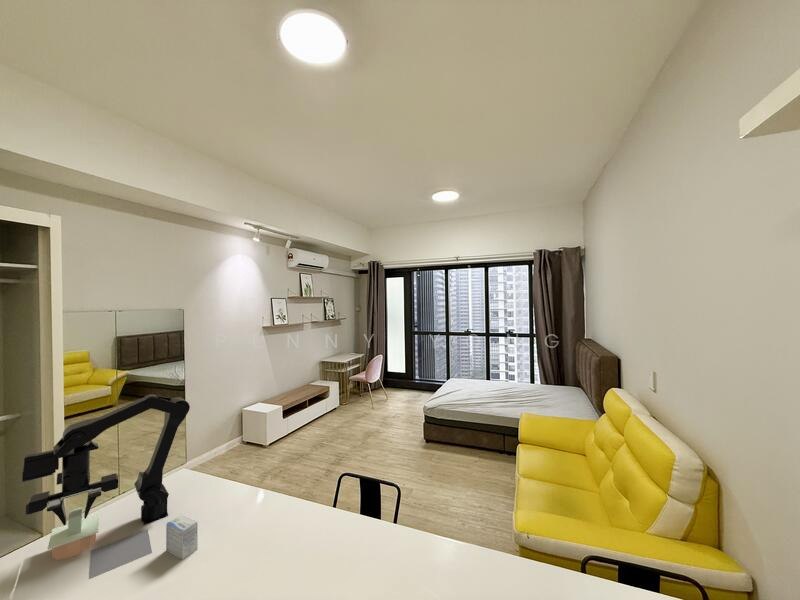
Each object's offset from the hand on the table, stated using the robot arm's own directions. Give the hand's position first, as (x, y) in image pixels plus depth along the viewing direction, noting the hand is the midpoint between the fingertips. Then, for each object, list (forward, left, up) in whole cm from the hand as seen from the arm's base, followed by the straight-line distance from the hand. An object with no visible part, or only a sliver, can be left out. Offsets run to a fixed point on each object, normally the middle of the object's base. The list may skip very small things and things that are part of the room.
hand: (75, 521), depth 94 cm
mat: (-10, +12, -8) cm, 17 cm away
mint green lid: (0, 0, -3) cm, 3 cm away
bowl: (0, 0, -8) cm, 8 cm away
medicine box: (-23, +23, -8) cm, 33 cm away
